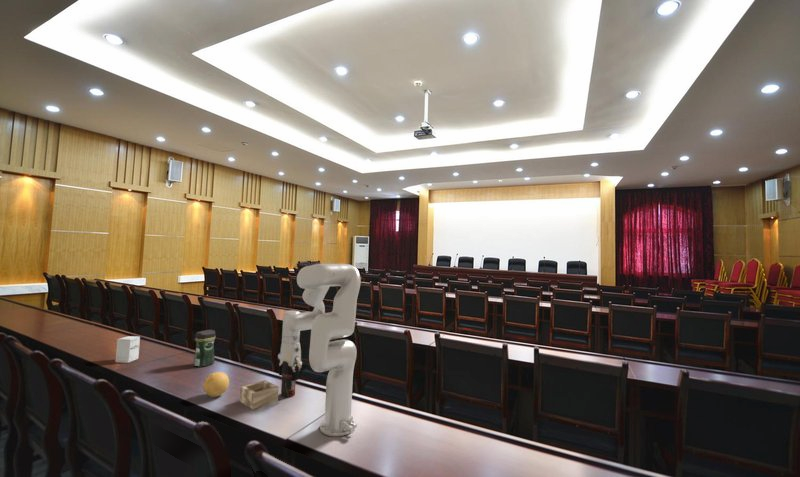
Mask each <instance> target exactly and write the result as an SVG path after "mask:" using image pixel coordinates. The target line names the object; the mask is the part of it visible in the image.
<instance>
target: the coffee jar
mask: <svg viewBox="0 0 800 477" xmlns="http://www.w3.org/2000/svg"><path fill="white" fill-rule="evenodd" d="M194 340H195V353H194V358H193V359H194V360H193V366H195V367H196V366H198V367H199V368H200V367H201V368H203V367H202V366H204V367H206V366H207V365H208V366H210V364H211V365H214V364H215V340H216V331H215V330H213V329H205V330H201V331H197V332H196V333H195V338H194ZM198 367H197V368H198Z"/></svg>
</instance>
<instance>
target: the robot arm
mask: <svg viewBox="0 0 800 477" xmlns="http://www.w3.org/2000/svg"><path fill="white" fill-rule="evenodd" d="M296 275H297V276H296V283H297V286H298V287H299V288H300V289H304V291H303V293H302V296H301V297H302V300H303V301H304V303H305V304H307V305H309V306H310V307H313V310H312V311H308V312H307V311H306V312H301V311H300V310H299V311H298V310H286V311H284V313H283V315H282V332H281V333H282V334H281V344H280V351H279V353H278V355H277V360H278V366H279V368H278V369H279V370H278V372H279V373H278V375H279V376H281V377H282V365H283V361H284V362H287V363H288V366H290V367H292V370H293V372H292V381H299V379H300V377H299V376H300V372H301V369H302V365H303V362H302V349H301V343H300V338H301V331H308V330H310V339H309V341H310V342H309V350H308V354H309V355H308V360H309V361H308V362H309V367H310V368H311V369H312V371H313V372H316V373H323V372H328V371H329V372H328V374H327V377H326V381H325V382H326V385H325V403H324V404H325V405H324V420H323V421H322V422H321V423H320V424H319V431H320V432H321V433H322V434H323V435H325V436H329V437H343V436H347V435H349V434H353V433H354V432H355V429H356V428H357V427H358V424H357V423H356V422H355V421H354V417H353V416H352V403H353V402H352V400H353V398H352V397H353V384H354V383H353V382H354V381H353V380H354V378H353V377H354V369H355V364H356V360H357V353H358V352H357V346H356V345H355V343H354V342H353V341H351V340H349V339H342V338H347V337H349V336H352V335H353V333H354V331H355V327H356V317H357V316H356V315H357V301H358V296H359V293H360V288H361V282H362V280H361V274H360V271H359V270H358V269H357V267H355V266H354V265H352V264H350V263H316V264H312V265H307V266H304V267H302V268H301V269H299V271H298V273H297V274H296ZM330 287H340V289H339V290H338V291H337V293H336V294H335V296H334V297H333V306H332V311H331V312H326V308H325V303H324V301H323V300H324V299H325V296H326V294H327V293H328V291H329V289H330ZM337 339H339V340H337ZM333 340H334V341H333ZM294 363H295V364H294ZM293 364H294V365H293ZM294 366H296V368H295V367H294Z"/></svg>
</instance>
